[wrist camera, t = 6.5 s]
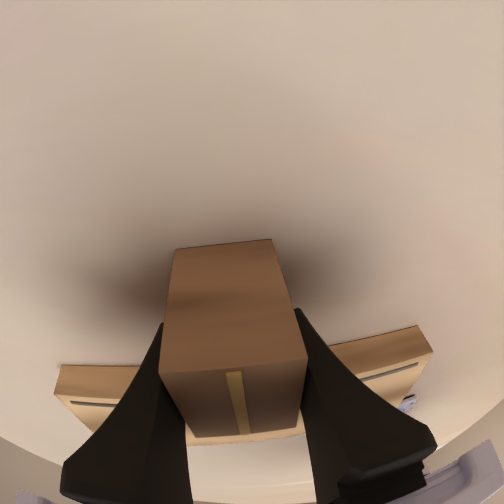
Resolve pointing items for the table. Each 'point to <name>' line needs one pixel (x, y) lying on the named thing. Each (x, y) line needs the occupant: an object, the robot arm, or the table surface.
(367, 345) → the oak board
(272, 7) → the table surface
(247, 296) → the block
